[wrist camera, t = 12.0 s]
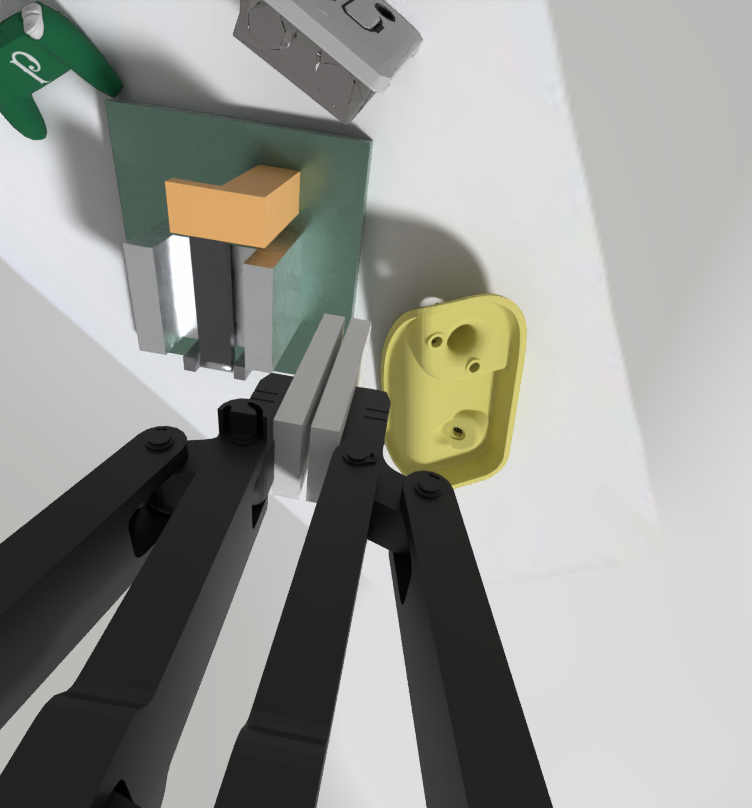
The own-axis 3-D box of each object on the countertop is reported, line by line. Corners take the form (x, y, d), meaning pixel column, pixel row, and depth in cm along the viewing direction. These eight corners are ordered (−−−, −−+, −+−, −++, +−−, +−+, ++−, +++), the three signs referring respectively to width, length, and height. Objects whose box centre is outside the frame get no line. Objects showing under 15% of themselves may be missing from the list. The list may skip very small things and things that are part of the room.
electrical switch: (426, 37, 33) (408, 49, 26) (382, 111, 36) (354, 140, 29) (304, -72, 31) (246, -92, 23) (267, 17, 34) (206, 23, 27)
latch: (219, 157, 37) (164, 181, 30) (300, 170, 37) (264, 197, 30) (221, 200, 39) (170, 232, 32) (298, 213, 38) (264, 248, 31)
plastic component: (506, 473, 49) (411, 502, 47) (470, 427, 55) (384, 451, 53) (536, 284, 37) (410, 311, 35) (487, 249, 43) (375, 270, 40)
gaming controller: (125, 55, 37) (47, -23, 32) (127, 96, 36) (47, 24, 31) (35, 109, 40) (-51, 46, 34) (35, 149, 39) (-53, 91, 33)
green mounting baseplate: (116, 98, 37) (27, 109, 29) (372, 140, 36) (352, 162, 29) (151, 340, 48) (93, 395, 41) (346, 374, 48) (326, 436, 40)
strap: (189, 187, 33) (183, 191, 32) (228, 194, 33) (223, 197, 32) (205, 362, 41) (200, 369, 40) (236, 368, 41) (232, 375, 40)
